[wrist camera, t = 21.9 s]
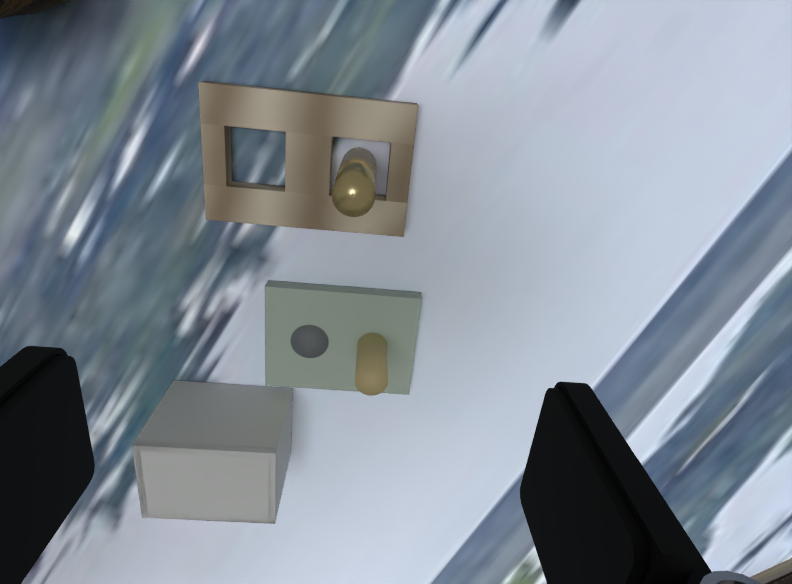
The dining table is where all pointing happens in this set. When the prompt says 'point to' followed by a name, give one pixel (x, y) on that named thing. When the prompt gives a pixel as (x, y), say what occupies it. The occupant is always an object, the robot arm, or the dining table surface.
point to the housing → (215, 453)
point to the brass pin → (355, 183)
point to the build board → (303, 156)
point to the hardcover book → (776, 574)
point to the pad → (340, 337)
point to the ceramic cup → (25, 6)
